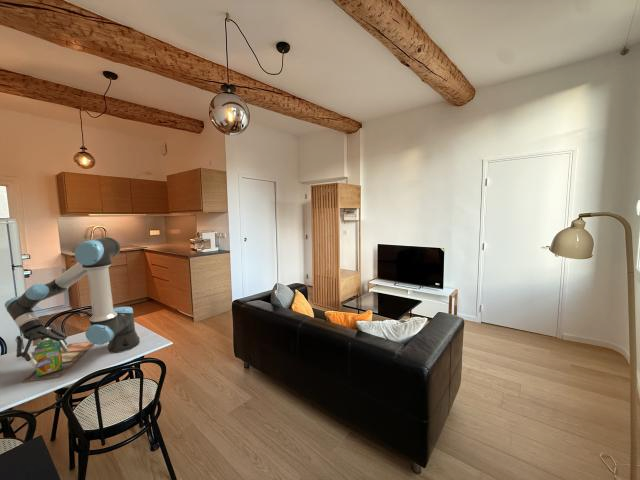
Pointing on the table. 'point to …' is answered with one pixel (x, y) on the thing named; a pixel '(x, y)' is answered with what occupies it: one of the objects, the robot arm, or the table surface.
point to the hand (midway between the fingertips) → (51, 357)
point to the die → (45, 343)
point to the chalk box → (48, 357)
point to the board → (67, 358)
